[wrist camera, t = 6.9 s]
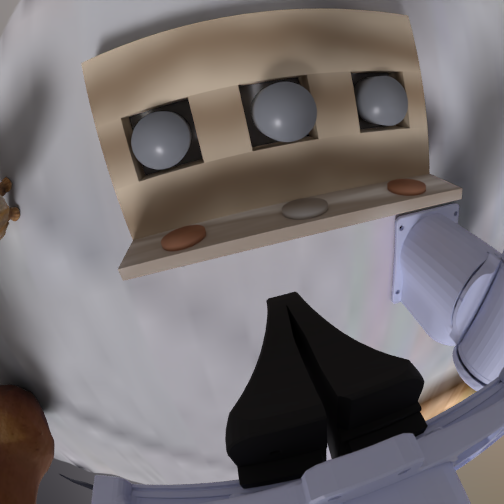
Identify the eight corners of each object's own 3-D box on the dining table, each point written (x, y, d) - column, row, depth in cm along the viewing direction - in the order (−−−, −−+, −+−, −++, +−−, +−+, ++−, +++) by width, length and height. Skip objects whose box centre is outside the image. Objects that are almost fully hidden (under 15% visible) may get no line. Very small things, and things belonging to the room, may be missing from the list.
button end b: (197, 155, 19) (195, 160, 17) (147, 170, 19) (140, 176, 17) (184, 104, 17) (181, 103, 15) (133, 121, 17) (124, 122, 15)
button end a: (395, 121, 19) (410, 124, 17) (355, 125, 19) (369, 127, 17) (389, 77, 17) (404, 76, 16) (348, 78, 17) (361, 76, 16)
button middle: (311, 133, 18) (321, 136, 16) (257, 143, 18) (262, 147, 16) (301, 81, 16) (311, 78, 14) (245, 89, 16) (249, 86, 14)
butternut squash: (-23, 360, 26) (-76, 491, 4) (39, 373, 27) (-8, 544, 5) (19, 415, 32) (-11, 531, 10) (79, 429, 33) (60, 565, 11)
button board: (415, 179, 22) (461, 201, 17) (143, 241, 22) (124, 283, 16) (394, 20, 16) (440, 6, 10) (92, 66, 15) (52, 55, 10)
